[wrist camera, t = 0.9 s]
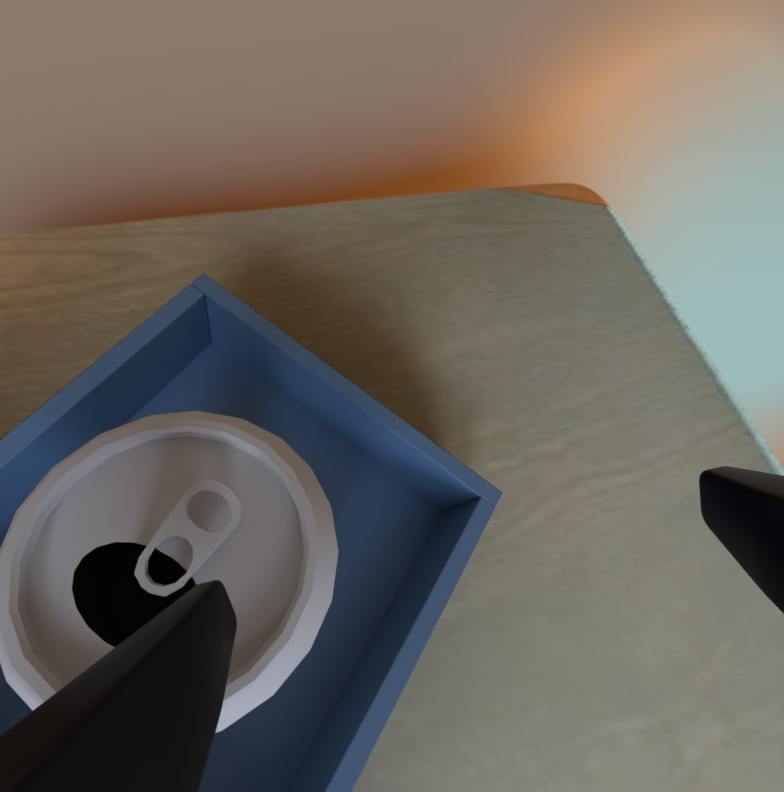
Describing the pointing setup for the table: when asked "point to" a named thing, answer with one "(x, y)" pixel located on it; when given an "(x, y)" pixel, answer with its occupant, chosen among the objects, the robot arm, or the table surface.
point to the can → (167, 552)
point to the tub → (351, 508)
